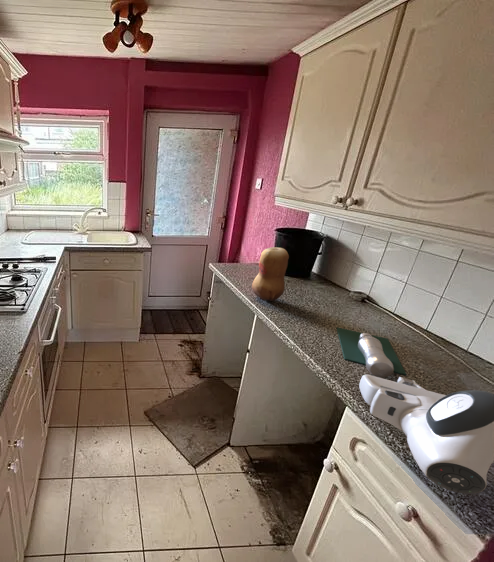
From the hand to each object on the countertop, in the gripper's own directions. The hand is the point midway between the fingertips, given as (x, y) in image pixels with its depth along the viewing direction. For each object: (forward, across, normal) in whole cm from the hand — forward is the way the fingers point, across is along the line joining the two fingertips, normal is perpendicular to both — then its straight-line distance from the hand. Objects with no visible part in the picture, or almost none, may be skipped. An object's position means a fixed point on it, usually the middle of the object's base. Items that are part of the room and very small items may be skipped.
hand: (405, 380), depth 78 cm
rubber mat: (+34, 0, +10) cm, 35 cm away
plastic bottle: (+14, 0, +7) cm, 16 cm away
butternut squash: (+60, +35, +10) cm, 71 cm away
